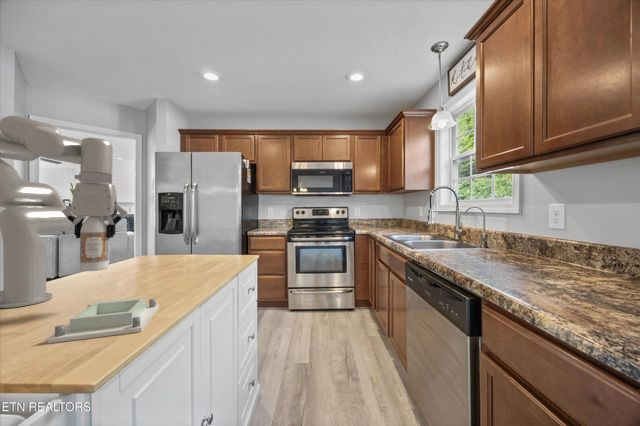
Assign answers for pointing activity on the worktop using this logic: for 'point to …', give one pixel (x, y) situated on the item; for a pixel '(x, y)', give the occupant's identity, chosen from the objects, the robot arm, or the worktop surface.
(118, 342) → the worktop surface
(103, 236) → the bath foam
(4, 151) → the robot arm
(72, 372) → the worktop surface
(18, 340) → the worktop surface
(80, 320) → the dock
